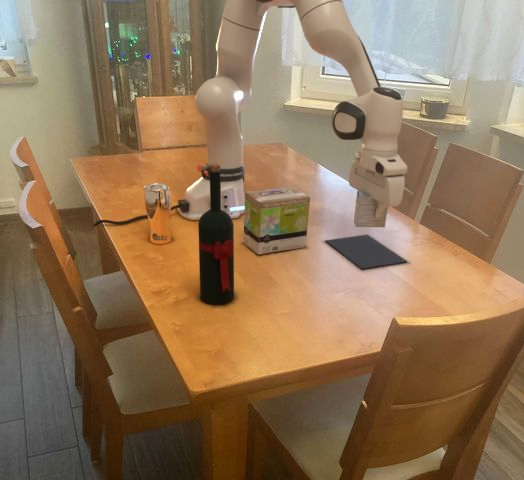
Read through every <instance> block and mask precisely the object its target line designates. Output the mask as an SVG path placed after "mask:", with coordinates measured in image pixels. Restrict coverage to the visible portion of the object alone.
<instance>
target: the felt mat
mask: <svg viewBox="0 0 524 480" xmlns="http://www.w3.org/2000/svg"><path fill="white" fill-rule="evenodd" d="M325 243H326V244H327V245H329V246H330V247H331V248H332V249H334V250H335V251H336V252H338V253H339V254H341V256H343V257H344V258H345V259H347V260H348V261H350V262H351V263H352V264H354V265H355V266H356V267H357V268H359V269H360V270H361V271H365V270H369V269H377V268H382V267H383V268H384V267H388V266H396V265H401V264H407V263H408V260H406V259H404V258H403V257H401V256H400V255H399V254H397V253H395V252H394V251H392V250H391V249H389V248H388V247H387V246H385V245H384V244H382V243H380V242H379V241H377V240H376V239H375V238H373V237H372V236H369V234H363V235H357V236H356V235H354V236H349V237H341V238H335V239H334V238H333V239H327V240H325Z"/></svg>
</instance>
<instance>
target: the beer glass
mask: <svg viewBox="0 0 524 480" xmlns="http://www.w3.org/2000/svg"><path fill="white" fill-rule="evenodd" d="M143 188H144V189H143V190H144V193H143V194H144V195H143V197H144V207H145V208H144V209H145V212H146V215H147V216H148V218H147V220H148V224H149V229H150V231H149V242H151V243H152V244H155V245H164V244H168V243H170V242H171V241H172V239H173V238H172V234H171V229H170V224H171V223H170V222H171V221H170V220H171V212H172V211H171V207H172V200H171V191H170V186H169V185H168V184H166V183H160V182H155V183H149V184H145V185H144V187H143Z"/></svg>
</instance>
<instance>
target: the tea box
mask: <svg viewBox="0 0 524 480" xmlns="http://www.w3.org/2000/svg"><path fill="white" fill-rule="evenodd" d="M244 195H245V207H244V213H243V234H242V235H243V239H242V240H243V241H242V242H243V244H245V245H246V246H247V247H248V248H249V249H251V251H253V252H254V253H255V254H257V255H258V256H260V255H265V254H270V253H276V252H282V251H289V250H296V249H304V248H306V246H307V245H306V243H307V234H308V225H309V213H310V203H311V196H309V195H307V194H306V193H304V192H302V191H301V190H299V189H297V188H296V187H293V186H287V187H280V188H269V189H261V190H252V191H244Z"/></svg>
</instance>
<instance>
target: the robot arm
mask: <svg viewBox="0 0 524 480" xmlns="http://www.w3.org/2000/svg"><path fill="white" fill-rule="evenodd" d="M272 7H277V8H278V9H284V8H285V9H293V8H295V10H296V13H297V16H298V19H299V22H300V26H301V30H302V32H303V33H302V34H303V35H304V38H305V40H306V42H307V43H308V45H309V47H310V48H311V49H312V50H313V51H314V52H316V53H317V54H319V55H321V56H324V57H326V58H329V59H331V60H333V61H335V62H337V63H338V64H340V65H341V66H342V67H343V68H344V69H345V70H346V72H347V74H348V76H349V79H350V81H351V83H352V85H353V89H354V90H355V93H356V96H357V97H354V98H349V99H345V100H343V101H340V102H339V103H338V104H337V105H336V106H334V107H335V108H334V109H333V111H332V115H331V128H332V130H333V132H334V135H335V136H336V137H337V138H339V139H340V140H343V141H357V140H358V141H360V142H361V151H358V152H356V154H355V155H354V160H353V161H352V162H351V167H350V171H349V176H348V185H349V186H350V187H351V188H353V189H355V190H357V191H363V192H365V193H367V194H368V195H370V197H371V198H372V199H374V200H376V201H377V205H378V207H377V209H376V210H374V214H373V216H374V217H376V218H381V217H382V213H383V211H384V209H385V208H386V206H387V207H388V208H394V207H395V208H396V207H398V206H400V205H401V203H402V201H403V196H404V191H405V185H406V183H405V182H406V180H405V176H404V175H406V174H407V173H408V165H407V164H406V162H404V160H403V159H402V157H401V156H400V154H399V153H398V150H399V149H398V148H399V145H398V140H399V139H398V138H399V135H400V133H401V130H402V125H403V116H404V99H403V95H402V94H401V92H399V91H398V90H397V89H393V88H391V87H385V86H382V85H381V84H380V80H379V79H378V76H377V73H376V70H375V68H374V66H373V63H372V61H371V59H370V56H369V54H368V52H367V49H366V47H365V45H364V43H363V41H362V39H361V37H360V36H359V35H358V34H357V32H356V30H355V28H354V26H353V25H352V22H351V20H350V18H349V16H348V13H347V11H346V8H345V4H344V0H226V1H225V5H224V9H223V13H222V18H221V23H220V25H219V30H218V35H217V40H216V44H215V51H216V55H217V57H216V59H217V61H216V62H217V65H216V73H215V76H214V77H213V78H209V79H207V80H205V81H204V82H203V83H202V84H201V86H200V87H199V88H198V89H197V91H196V93H195V98H194V103H195V107H196V110H197V112H198V113H199V115H200V116H201V119H202V124H203V128H204V132H205V139H206V164H205V165H202V164H201V163H199V164H197V165H196V170H197V171H198V172H200V173H201V177H200V178H198V179H197V180H196V181H195V182H193V183H192V184H191V185H189V187H188V188H186V190H185V193H184V198H183V199H178V200H177V203H178V204H176V205H172V206H171V212H172V211H173V210H175V209H176V210H177V213H178V214H179V215H180V216H181V217H182V218H184V219H186V220H190V221H199V219H200V217H201V216H202V215H203V214H204V213H205V212H207V211H208V210H210V170H211V169H210V164H219V165H220V174H221V210H223V211H225V212H226V213H228V214H229V216H230V217H231V219H239V217H240V216H241V215H242V214H243V215H244V207H245V187H244V182H245V175H246V174H245V173H246V172H245V164H244V137H243V135H242V134H241V129H240V125H239V118H238V114H239V113H240V112H242V111H243V110H245V108H246V107H247V106H248V105H249V103H250V100H251V98H252V94H253V93H252V92H253V91H252V81H253V73H254V72H253V71H254V65H255V59H256V54H257V50H258V46H259V43H260V39H261V35H262V31H263V27H264V23H265V19H266V17H267V13H268V12H269V10H270V9H271V8H272ZM142 219H148V216H147V214H142V215H138V216H134V217H133V218H129V219H125V220H122V221H121V220H120V221H116V220H111V219H100V220H98V221H96V222H94V224H93V225H92V226H93V227H98V226H99V225H101V224H111V225H117V226H118V225H126V224H130V223H132V222H135V221H138V220H142Z"/></svg>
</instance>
